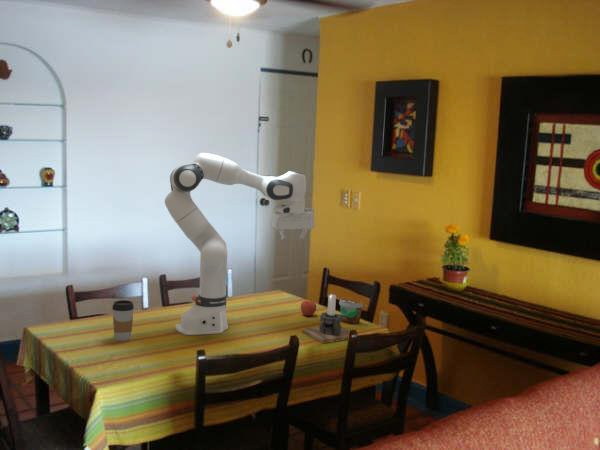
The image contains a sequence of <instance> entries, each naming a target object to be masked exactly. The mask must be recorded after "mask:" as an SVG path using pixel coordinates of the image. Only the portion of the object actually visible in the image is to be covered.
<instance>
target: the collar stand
mask: <svg viewBox="0 0 600 450" xmlns="http://www.w3.org/2000/svg"><path fill="white" fill-rule="evenodd" d="M327 313H328V312H327V311H326V312H321V314H319V315H320V316H319V321H320V322H321V324H320V325H319V326H313V327H308V328H302V331H301V332H302V334H304V333H305V334H304V335H306V334H307V335H306V336H308V335H309V336H308V337H310V336H311V337H310V338H312V337H313V338H312V339H314V340H315V339H316V341H317V340H318V341H317V342H319V341H320V342H319V343H321V342H322V343H321V344H324V343H323V342H329V343H332V342H331V341H336V340H342V339H343V340H342V341H346V340H345V339H348V334H349V331H351V330H350V329H348V328H346V327H344V326H341V323H342V322H341V321H342V316H341V314H339V313H335V318H330V317H327ZM327 323H331V324H333V328H327ZM336 342H337V341H336Z"/></svg>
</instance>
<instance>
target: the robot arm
mask: <svg viewBox="0 0 600 450" xmlns="http://www.w3.org/2000/svg"><path fill="white" fill-rule="evenodd" d="M203 180H208V181H211V182H215V183H217V184H221V185H227V186H232V185H238V184H239V185H244V186H247V187H250V188H252V189H256V190H258V191H260V193H261V194H262V195H264V196H265V197H267V198H269V199H271V200H273V201H281V200H284V202H283V203H282V204H281V203H280V204H279V205H276V206H274V207H273V211H274V213H273V214H272V218H271V228H272V229H273V230H276V231H278V232H279V234H280V240H281V241H282V240H283V241H286V238H287V236H286V235H285V230H301V231H302V232H301V234H299V236H298V237H299V240H304V239H305V235H306V234H307V232H308V230H312V229H313V230H314V228H315V227H316V226H315V223H316V221H315V213H316V212H315V210H314V209H313V208H312V207H305V206H306V200H305V196H306V193H307V192H306V191H307V178H306V175H305V174H304V173H302V172H300V171H296V170H288V171H287V172H285V173H284V174H282V175H278V176H277V175H272V174H270V175H269V174H268V175H261V174H257V173H255V172H252V171H248V170H246V169H244V168H243V167H241V166H240V165H239V164H238V163H237V162H235V161H233V160H231V159H229V158H227V157H224V156H221V155H217V154H214V153H208V152H200V153H198V154H197V155H196V156H195V157H194V160H193V162H192V163H190V164H182V165H178V166H176V168H174V169H173V170H172V172H171V173H170V175H169V183H170V192H169V193H168V194H167V195H166V197H165V199H164V205H165V206H166V208H167V211H168V213H169V214H170V216H171V217H172V219H173V220H174V222H175V223H176V225H177V226H178V227H179V229H180V230H181V231H182V233H183V234H184V235H185V236H186V238H187V239H189V241H191V243H192V244H193V245H194V246H195V247H196V249H197V250H198V251H199V252H200V256H199V257H200V260H199V262H200V263H199V264H200V265H199V266H200V267H199V268H200V269H199V293H198V296H196V295H192V296H191V297H190V299H191V300H192V302H195V303H194V304H193V305H192V306H191V307H189V308H188V309H187V310H185V311H184V312H183V313H182V314H181V319H180V322H179V323H176V324H175V327H174V328H175V330H176V331H177V332H178V333H180V334H183V335H185V336H195V335H196V336H197V335H198V336H199V335H215V334H223V333H224V331H226V330H227V329H229V325H228V320H227V312H226V308H227V294H226V292H227V290H226V289H227V285H226V284H227V270H228V269H227V268H228V267H227V266H228V249H227V243H226V241H225V240H224V239H223V237H222V236H221V235H220V234H219V232H218V231H217V230H216V229H215V227H214V225H212V223H211V222H209V220H208V219H207V217H206V216H205V215H204V214H203V212H202V211H201V209H200V208H199V207H198V205H197V204H196V203H195V201H194V200H193V198H192V196H191V191H194V190H195V189H196V188H198V186H199V185H200V183H201V182H202V181H203Z"/></svg>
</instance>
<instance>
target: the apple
mask: <svg viewBox="0 0 600 450" xmlns="http://www.w3.org/2000/svg"><path fill="white" fill-rule="evenodd" d="M300 310H301V313H302V314H303V315H304V316H306V317H307V316H310V317H312V316H313V315H314V314H315V313H316V311H317V303H316V302H315V301H314V300H304V301H302V302H301V303H300Z"/></svg>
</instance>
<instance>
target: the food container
mask: <svg viewBox="0 0 600 450" xmlns="http://www.w3.org/2000/svg"><path fill="white" fill-rule="evenodd" d="M339 299H340V300H339V302H338V304H339V306H340V315H341V316H342V321H341V323H343V324H346V325H358V324H360V320H361V316H362V308H364V305H363V302H356V301H353V300H347V299H344V297H341V298H339Z"/></svg>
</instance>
